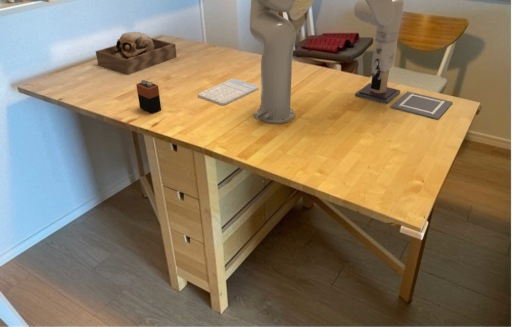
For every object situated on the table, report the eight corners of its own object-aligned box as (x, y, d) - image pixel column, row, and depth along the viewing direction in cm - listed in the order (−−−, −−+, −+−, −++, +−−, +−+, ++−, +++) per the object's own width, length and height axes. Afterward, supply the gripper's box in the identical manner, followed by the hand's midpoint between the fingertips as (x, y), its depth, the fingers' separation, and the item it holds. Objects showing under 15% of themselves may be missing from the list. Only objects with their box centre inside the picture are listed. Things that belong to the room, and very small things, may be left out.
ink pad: (386, 104, 150) (387, 100, 149) (354, 96, 156) (355, 92, 155) (399, 93, 158) (400, 89, 157) (369, 86, 164) (369, 82, 163)
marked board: (437, 120, 139) (438, 117, 139) (390, 107, 148) (390, 105, 147) (452, 103, 150) (452, 101, 150) (407, 92, 158) (407, 90, 158)
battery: (151, 114, 144) (147, 86, 139) (139, 109, 148) (134, 81, 143) (162, 110, 147) (158, 82, 142) (149, 105, 151) (145, 77, 146)
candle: (384, 87, 158) (389, 61, 153) (387, 93, 154) (391, 66, 148) (369, 87, 159) (373, 60, 153) (371, 93, 154) (375, 66, 149)
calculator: (196, 97, 157) (196, 93, 156) (233, 82, 170) (233, 77, 169) (223, 107, 150) (223, 102, 149) (259, 90, 163) (259, 85, 162)
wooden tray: (128, 74, 176) (126, 60, 173) (98, 65, 186) (95, 51, 183) (176, 57, 195) (175, 44, 191) (146, 49, 205) (144, 36, 202)
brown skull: (109, 68, 182) (105, 35, 176) (123, 59, 198) (120, 28, 192) (147, 70, 181) (144, 37, 175) (158, 61, 197) (156, 30, 191)
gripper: (387, 43, 138) (378, 96, 148) (406, 31, 150) (398, 81, 159) (365, 39, 142) (358, 91, 151) (385, 28, 153) (378, 77, 163)
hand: (378, 86), depth 155 cm, fingers closed on candle, 5 cm apart
